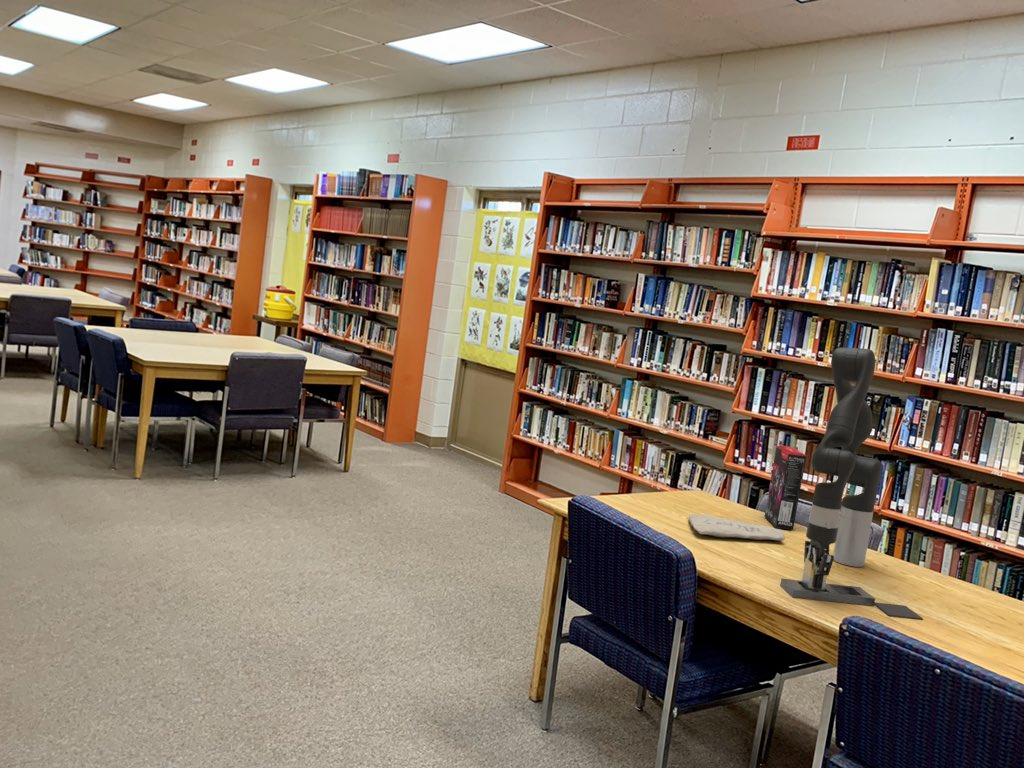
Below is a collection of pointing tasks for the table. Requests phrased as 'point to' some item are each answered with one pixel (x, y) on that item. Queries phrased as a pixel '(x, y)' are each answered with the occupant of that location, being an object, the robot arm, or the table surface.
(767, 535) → the stone
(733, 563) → the table surface
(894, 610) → the mat
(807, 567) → the block
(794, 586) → the grey slotted frame
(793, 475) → the graphics card box
